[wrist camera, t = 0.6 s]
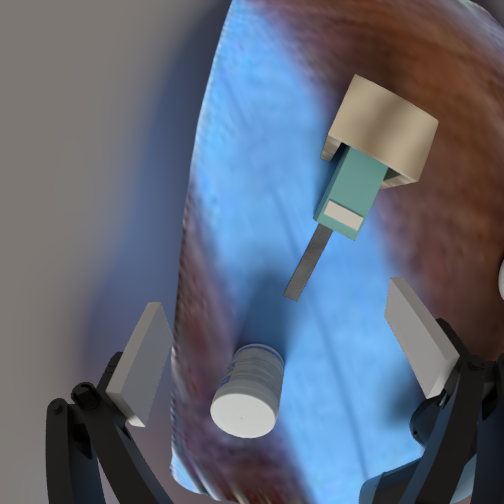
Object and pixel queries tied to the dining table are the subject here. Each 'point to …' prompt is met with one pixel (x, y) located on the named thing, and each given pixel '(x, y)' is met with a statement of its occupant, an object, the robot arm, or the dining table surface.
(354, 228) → the beige-capped teal block
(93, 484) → the robot arm
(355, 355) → the dining table surface
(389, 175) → the tunnel
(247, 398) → the supplement tub
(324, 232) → the rail
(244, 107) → the dining table surface
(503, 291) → the flower in vase
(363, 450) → the dining table surface
